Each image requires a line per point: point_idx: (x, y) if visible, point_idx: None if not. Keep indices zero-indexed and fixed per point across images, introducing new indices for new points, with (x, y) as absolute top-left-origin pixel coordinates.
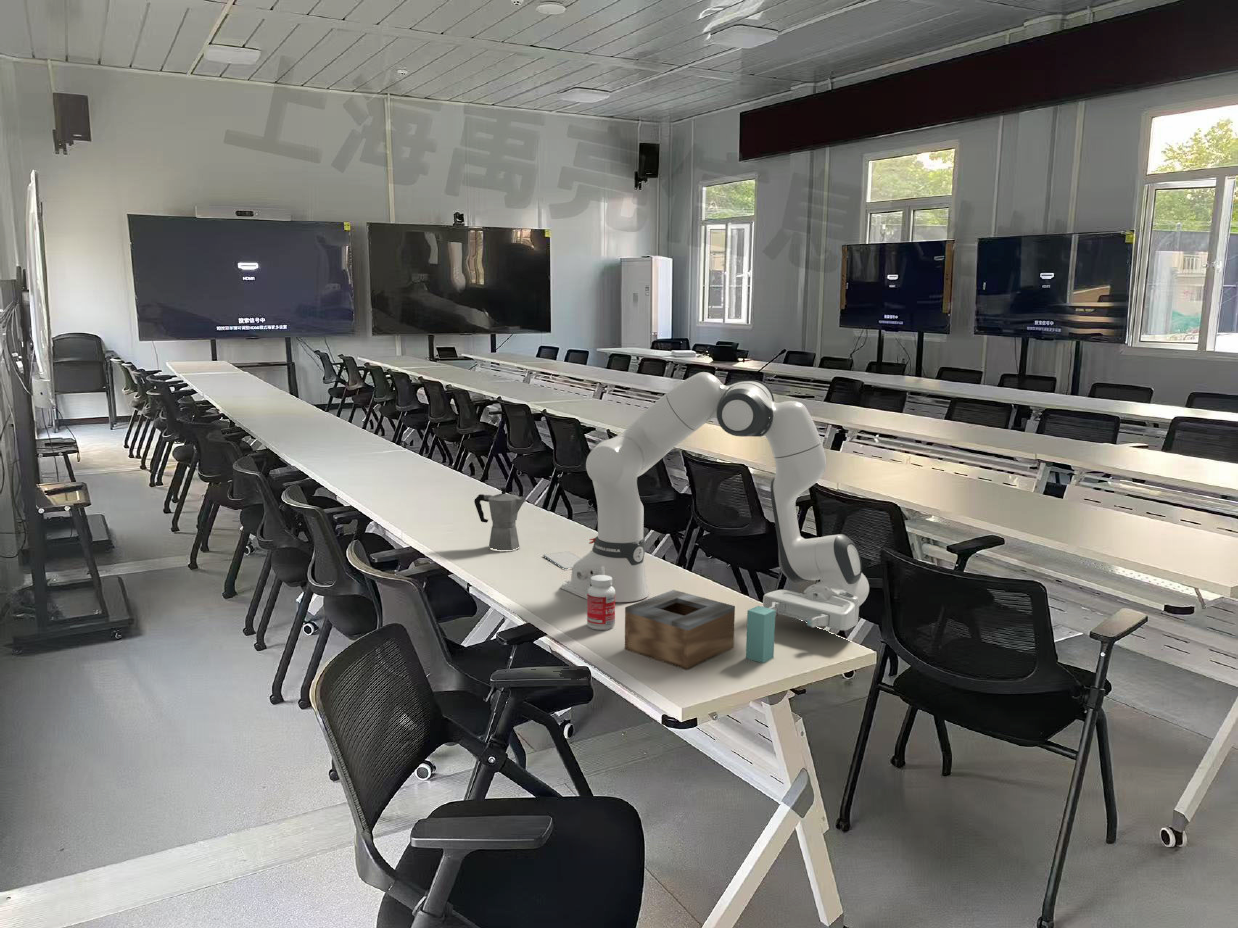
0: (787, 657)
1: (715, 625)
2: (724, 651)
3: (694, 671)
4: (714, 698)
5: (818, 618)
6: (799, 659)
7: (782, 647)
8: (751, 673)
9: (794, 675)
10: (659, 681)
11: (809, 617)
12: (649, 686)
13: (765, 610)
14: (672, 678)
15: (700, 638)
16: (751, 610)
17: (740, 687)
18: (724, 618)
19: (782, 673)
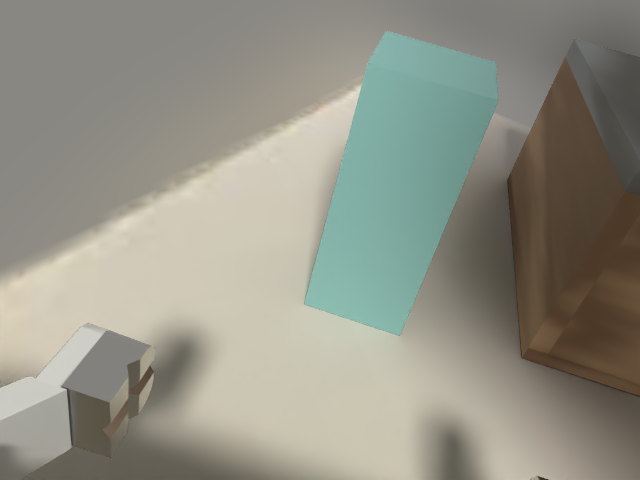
0: (238, 320)
1: (576, 147)
2: (518, 304)
3: (483, 175)
4: (352, 91)
5: (23, 381)
6: (172, 313)
7: (303, 444)
8: (328, 183)
9: (177, 187)
10: (508, 134)
11: (130, 363)
12: (505, 119)
13: (416, 60)
14: (497, 145)
15: (550, 131)
16: (478, 61)
17: (320, 124)
18: (594, 162)
19: (225, 194)
